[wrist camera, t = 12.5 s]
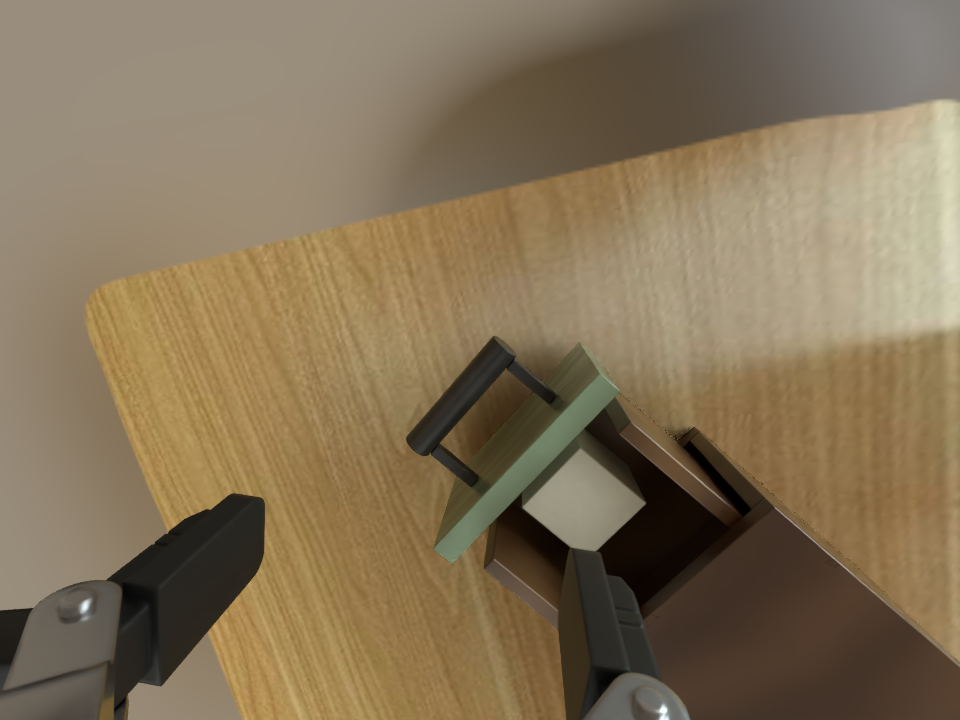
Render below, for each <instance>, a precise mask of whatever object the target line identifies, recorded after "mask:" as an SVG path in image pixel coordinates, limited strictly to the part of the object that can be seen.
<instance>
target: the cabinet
mask: <svg viewBox="0 0 960 720" xmlns="http://www.w3.org/2000/svg"><path fill="white" fill-rule="evenodd" d="M678 443H679V444H680V445H681V446H682V447H683V448H684V449H686V450H687V451H688V452H689V453H690V454H691V455H692V456H694V457H695V458H696V459H697V460H698V461H699V462H701V463H702V464H703V465H704V466H705V467H706V468H708V469H709V470H710V471H711V472H712V473H713V474H715V475H716V476H717V477H718V478H719V479H720V480H722V481H723V482H724V483H725V484H726V485H727V486H729V487H730V488H731V489H732V490H733V491H734V492H736V493H737V494H738V495H739V496H740V497H741V499H742V500H743V501H744V502H745V503H746V504H747V505H748V506H749V507H750V509H751V511H750V512H749V513H748V514H746V515H745V516H744V517H743V518H742V519H741V520H740V521H738V522H737V523H736V524H735V525H734V526H733V527H732V528H730V529H729V530H728V531H727V532H726V533H725V534H724V535H722V536H721V537H720V538H719V539H718V540H717V541H716V542H714V543H713V544H712V545H711V546H710V547H709V548H708V549H706V550H705V551H704V552H703V553H702V554H701V555H700V556H698V557H697V558H696V559H695V560H694V561H693V562H691V563H690V564H689V565H688V566H687V567H686V568H685V569H683V570H682V571H681V572H680V573H679V574H678V575H677V576H675V577H674V578H673V579H672V580H671V581H670V582H669V583H667V584H666V585H665V586H664V587H663V588H662V589H661V590H659V591H658V592H657V593H656V594H655V595H654V596H653V597H651V598H650V599H649V600H648V601H647V602H646V603H645V604H643V605H642V606H641V607H640V608H639V609H640V614H641V616H642V619H643V622H644V628H645V629H646V631H647V634H648V637H649V640H650V643H651V646H652V650H653V653H654V656H655V659H656V662H657V665H658V668H659V671H660V674H661V677H662V680H663V683H664V684H665V685H667V686H668V687H669V688H670V689H672V690H673V691H674V692H675V693H676V694H677V696H678V697H679V698H680V699H681V701H682V702H683V704H684V705H685V707H686V709H687V711H688V714H689V717H690V719H692V720H960V662H959V661H958V660H957V659H956V658H955V657H953V656H952V655H951V654H950V653H949V652H948V651H947V650H946V649H945V648H944V647H943V646H942V645H941V644H939V643H938V642H937V641H936V640H935V639H934V638H933V637H932V636H931V635H930V634H929V633H928V632H927V631H925V630H924V629H923V628H922V627H921V626H920V625H919V624H918V623H917V622H916V621H915V620H914V619H913V618H911V617H910V616H909V615H908V614H907V613H906V612H905V611H904V610H903V609H902V608H901V607H900V606H899V605H898V604H896V603H895V602H894V601H893V600H892V599H891V598H890V597H889V596H888V595H887V594H886V593H885V592H884V591H882V590H881V589H880V588H879V587H878V586H877V585H876V584H875V583H874V582H873V581H872V580H871V579H870V578H868V577H867V576H866V575H865V574H864V573H863V572H862V571H861V570H860V569H858V568H857V567H856V566H855V565H854V564H853V563H851V562H850V561H849V560H848V559H847V558H846V557H845V556H843V555H842V554H841V553H840V552H839V551H838V550H836V549H835V548H834V547H833V546H832V545H831V544H829V543H828V542H827V541H826V540H825V539H824V538H823V537H821V536H820V535H819V534H818V533H817V532H816V531H814V530H813V529H812V528H811V527H810V526H809V525H808V524H806V523H805V522H804V521H803V520H802V519H801V518H799V517H798V516H797V515H796V514H795V513H794V512H793V511H791V510H790V509H789V508H788V507H787V506H786V505H784V504H783V503H782V502H781V501H780V500H779V499H778V498H776V497H775V496H774V495H773V494H772V493H771V492H769V491H768V490H767V489H766V488H765V487H764V486H762V485H761V484H760V483H759V482H758V481H757V480H756V479H754V478H753V477H752V476H751V475H750V474H749V473H747V472H746V471H745V470H744V469H743V468H742V467H741V466H739V465H738V464H737V463H736V462H735V461H734V460H732V459H731V458H730V457H729V456H728V455H727V454H726V453H724V452H723V451H722V450H721V449H720V448H719V447H717V446H716V445H715V444H714V443H713V442H712V441H711V440H709V439H708V438H707V437H706V436H705V435H704V434H702V433H701V432H700V431H699V430H698V429H697V428H695V427H694V428H693V429H692V430H691V431H690V432H689V433H688V434H687V435H685V436H684V437H683V438H682V439H681V440H680V441H679V442H678Z"/></svg>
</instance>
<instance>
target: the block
mask: <svg viewBox="0 0 960 720" xmlns="http://www.w3.org/2000/svg"><path fill="white" fill-rule="evenodd" d="M645 504H646V501H645V499H644V497H643V495H642V493H641V491H640V489H639V487H638V485H637V483H636V481H635V479H634V477H633V475H632V473H631V471H630V469H629V467H628V465H627V464H625V463H624V462H623V461H622V460H621V459H620V458H618V457H617V456H616V455H615V454H614V453H612V452H611V451H610V450H609V449H608V448H606V447H605V446H604V445H603V444H602V443H601V442H599V441H598V440H597V439H596V438H595V437H593V436H592V435H591V434H590V433H589V432H588V431H586V430H585V429H583V430H582V431H581V432H580V433H579V434H578V435H577V436H576V437H575V438H574V439H573V440H572V441H571V442H570V443H569V444H568V445H567V446H566V447H565V448H564V449H563V450H562V451H561V452H560V454H559V455H558V456H557V457H556V458H555V459H554V460H553V461H552V462H551V463H550V464H549V465H548V466H547V467H546V468H545V469H544V470H543V471H542V472H541V473H540V474H539V475H538V476H537V477H536V478H535V479H534V480H533V481H532V482H531V483H530V484H529V485H528V486H527V487H526V488H525V489H524V490H523V491H522V508H523V509H524V510H525V511H527V512H528V513H529V514H530V515H531V516H533V517H534V518H535V519H536V520H538V521H539V522H540V523H541V524H542V525H544V526H545V527H546V528H547V529H549V530H550V531H551V532H552V533H553V534H555V535H556V536H557V537H558V538H559V539H561V540H562V541H563V542H564V543H566V544H567V545H568V546H569V547H570V548H577V549H583V550H589V551H597V550H598V549H599V548H600V547H601V546H602V545H603V544H604V543H605V542H606V541H607V540H608V539H609V538H610V537H612V536H613V535H614V534H615V533H616V532H617V531H618V530H619V529H620V528H621V527H622V526H623V525H624V524H625V523H626V522H627V521H628V520H630V519H631V518H632V517H633V516H634V515H635V514H636V513H637V512H638V511H639V510H640V509H641V508H642V507H643V506H644V505H645Z"/></svg>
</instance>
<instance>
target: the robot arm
mask: <svg viewBox="0 0 960 720" xmlns="http://www.w3.org/2000/svg"><path fill="white" fill-rule="evenodd" d="M264 529H265V503H264V500H263V499H262V498H260V497H254V496H248V495H242V494H235V493H232V494H230V495H229V496H227V497H226V498H225V499H224V500H222V501H221V502H220V503H219V504H217V505H216V506H215V507H214V508H212V509H211V510H208V509H206V510H204V511H201V512H199V513H197V514H195V515H192V516H190V517H188V518H186V519H184V520H183V521H181V522H180V523H179V524H178V525H176V526H175V527H174V528H172V529H171V530H170V531H169V533H168V534H165V535H163V536H162V537H161V538H160V539H158V540H157V541H156V542H155V544H154V545H151V546H149V547H148V548H147V549H145V550H144V551H143V552H142V553H140V554H139V555H138V556H137V557H135V558H134V559H133V560H131V561H130V562H129V563H127V564H126V565H125V566H124V567H122V568H121V569H120V570H118V571H117V572H116V573H115V574H113V575H112V576H111V577H109V578H108V579H107V580H93V581H86V582H81V583H77V584H73V585H70V586H67V587H65V588H62V589H60V590H58V591H56V592H54V593H52V594H50V595H49V596H47V597H46V598H44V599H43V600H42V601H40V602H39V603H38V604H37V605H36V606H35V607H34V608H28V609H14V610H2V611H0V720H127V719H128V707H129V701H128V693H129V692H130V691H131V690H132V689H133V688H134V687H135V686H136V684H137V683H138V682H140V683H146V684H150V685H156V686H162V685H163V684H164V683H165V682H166V680H167V679H168V678H169V677H170V676H171V674H172V673H173V672H174V671H175V670H176V668H177V667H178V666H179V665H180V664H181V663H182V661H183V660H184V659H185V658H186V657H187V655H188V654H189V653H190V652H191V651H192V650H193V648H194V647H195V646H196V645H197V644H198V642H199V641H200V640H201V639H202V637H203V636H204V635H205V634H206V633H207V632H208V631H209V629H210V628H211V627H212V626H213V625H214V623H215V622H216V621H217V620H218V619H219V617H220V616H221V615H222V614H223V613H224V612H225V610H226V609H227V608H228V607H229V606H230V604H231V603H232V602H233V601H234V600H235V598H236V597H237V596H238V595H239V594H240V593H241V591H242V590H243V589H244V588H245V587H246V585H247V584H248V583H249V582H250V581H251V579H252V578H253V577H254V576H255V574H256V573H257V571H258V569H259V567H260V565H261V562H262V559H263V554H264ZM558 631H559V642H560V654H561V665H562V676H563V687H564V698H565V709H566V720H692V719H690V717H689V714H688V711H687V709H686V707H685V705H684V704H683V702H682V701H681V699H680V698H679V697H678V696H677V694H676V693H675V692H674V691H673V690H672V689H670V688H669V687H668V686H667V685H665V684H664V683H663V680H662V677H661V674H660V671H659V668H658V665H657V662H656V659H655V656H654V653H653V650H652V646H651V643H650V640H649V637H648V634H647V631H646V629H645V628H644V622H643V619H642V616H641V614H640V609H639V606H638V603H637V600H636V597H635V594H634V592H633V591H632V590H631V589H630V588H629V586H628V585H627V584H626V583H625V581H624V580H623V579H622V578H621V577H617V576H611V575H606V571H605V567H604V563H603V559H602V556H601V553H600V552H596V551H589V550H583V549H577V548H570V549H569V552H568V557H567V562H566V568H565V573H564V579H563V585H562V590H561V596H560V602H559V611H558Z"/></svg>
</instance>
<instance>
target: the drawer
mask: <svg viewBox="0 0 960 720" xmlns="http://www.w3.org/2000/svg"><path fill="white" fill-rule="evenodd" d="M516 356H517V355H516V353H515V352H514V350H513V349H512V348H511V347H510V346H509V345H508V344H506V343H505V342H504V341H503V340H501V339H500V338H498V337H496V336H493V337H492V338H491V339H490V341H489V342H488V343H487V344H486V345H485V346H484V348H483V349H482V350H481V351H480V352H479V353H478V354H477V356H476V357H475V358H474V359H473V360H472V361H471V363H470V364H469V365H468V366H467V367H466V368H465V370H464V371H463V372H462V373H461V374H460V375H459V376H458V378H457V379H456V380H455V381H454V382H453V383H452V385H451V386H450V387H449V388H448V389H447V390H446V391H445V393H444V394H443V395H442V396H441V397H440V398H439V400H438V401H437V402H436V403H435V404H434V405H433V407H432V408H431V409H430V410H429V411H428V412H427V413H426V415H425V416H424V417H423V418H422V419H421V420H420V422H419V423H418V424H417V425H416V426H415V427H414V428H413V430H412V431H411V432H410V433H409V434H408V435H407V437H406V441H407V443H408V445H409V446H410V447H411V449H412V450H414V451H415V452H416V453H417V454H419V455H421V456H428V455H429V454H430V453H431V455H432V456H433V457H434V458H435V459H437V460H438V461H439V462H440V463H441V464H443V465H444V466H445V467H446V468H448V469H449V470H450V471H451V472H452V473H454V474H455V475H456V478H455V481H454V484H453V487H452V490H451V493H450V497H449V500H448V503H447V506H446V509H445V512H444V515H443V519H442V522H441V525H440V528H439V531H438V534H437V537H436V540H435V544H434V547H433V549H434V550H435V551H436V552H438V553H439V554H440V555H441V556H443V557H444V558H445V559H446V560H448V561H449V562H450V563H453V562H454V561H455V560H456V559H457V558H458V557H459V556H460V555H461V554H462V553H463V552H464V551H465V550H466V549H467V548H468V547H469V546H470V545H471V544H472V543H473V542H474V541H475V540H476V539H477V538H478V537H479V536H480V534H481V533H482V532H483V531H484V530H485V529H486V528H487V527H488V526H489V531H488V538H487V545H486V553H485V560H484V570H485V571H487V572H488V573H489V574H490V575H492V576H493V577H494V578H495V579H496V580H498V581H499V582H500V583H501V584H503V585H504V586H505V587H506V588H508V589H509V590H510V591H511V592H513V593H514V594H515V595H516V596H518V597H519V598H520V599H521V600H522V601H524V602H525V603H526V604H527V605H529V606H530V607H531V608H532V609H534V610H535V611H536V612H537V613H539V614H540V615H541V616H542V617H544V618H545V619H546V620H547V621H548V622H550V623H551V624H552V625H553V626H555V627H556V628H557V629H558V611H559V602H560V596H561V590H562V585H563V579H564V573H565V568H566V562H567V557H568V552H569V549H570V547H569V546H568V545H567V544H566V543H564V542H563V541H562V540H561V539H559V538H558V537H557V536H556V535H555V534H553V533H552V532H551V531H550V530H549V529H547V528H546V527H545V526H544V525H542V524H541V523H540V522H539V521H538V520H536V519H535V518H534V517H533V516H531V515H530V514H529V513H528V512H527V511H525V510H524V509H523V508H522V491H523V490H524V489H525V488H526V487H527V486H528V485H529V484H530V483H531V482H532V481H533V480H534V479H535V478H536V477H537V476H538V475H539V474H540V473H541V472H542V471H543V470H544V469H545V468H546V467H547V466H548V465H549V464H550V463H551V462H552V461H553V460H554V459H555V458H556V457H557V456H558V455H559V454H560V452H561V451H562V450H563V449H564V448H565V447H566V446H567V445H568V444H569V443H570V442H571V441H572V440H573V439H574V438H575V437H576V436H577V435H578V434H579V433H580V432H581V431H582V430H583V429H585V430H586V431H588V432H589V433H590V434H591V435H592V436H593V437H595V438H596V439H597V440H598V441H599V442H601V443H602V444H603V445H604V446H605V447H606V448H608V449H609V450H610V451H611V452H612V453H614V454H615V455H616V456H617V457H618V458H620V459H621V460H622V461H623V462H624V463H625V464H627V465H628V467H629V469H630V471H631V473H632V475H633V477H634V479H635V481H636V483H637V485H638V487H639V489H640V491H641V493H642V495H643V497H644V499H645V501H646V504H645V505H644V506H643V507H642V508H641V509H640V510H639V511H638V512H637V513H636V514H635V515H634V516H633V517H632V518H631V519H630V520H628V521H627V522H626V523H625V524H624V525H623V526H622V527H621V528H620V529H619V530H618V531H617V532H616V533H615V534H614V535H613V536H612V537H610V538H609V539H608V540H607V541H606V542H605V543H604V544H603V545H602V546H601V547H600V548H599V549H598V550H597V551H596V552H600V553H601V556H602V559H603V563H604V567H605V571H606V575H611V576H617V577H621V578H622V579H623V580H624V581H625V583H626V584H627V585H628V586H629V588H630V589H631V590H632V591H633V592H634V594H635V597H636V600H637V603H638V606H639V608H640V607H641V606H642V605H643V604H645V603H646V602H647V601H648V600H649V599H650V598H651V597H653V596H654V595H655V594H656V593H657V592H658V591H659V590H661V589H662V588H663V587H664V586H665V585H666V584H667V583H669V582H670V581H671V580H672V579H673V578H674V577H675V576H677V575H678V574H679V573H680V572H681V571H682V570H683V569H685V568H686V567H687V566H688V565H689V564H690V563H691V562H693V561H694V560H695V559H696V558H697V557H698V556H700V555H701V554H702V553H703V552H704V551H705V550H706V549H708V548H709V547H710V546H711V545H712V544H713V543H714V542H716V541H717V540H718V539H719V538H720V537H721V536H722V535H724V534H725V533H726V532H727V531H728V530H729V529H730V528H732V527H733V526H734V525H735V524H736V523H737V522H738V521H740V520H741V519H742V518H743V517H744V516H745V515H746V514H748V513H749V512H750V511H751V509H750V507H749V506H748V505H747V504H746V503H745V502H744V501H743V500H742V499H741V497H740V496H739V495H738V494H737V493H736V492H734V491H733V490H732V489H731V488H730V487H729V486H727V485H726V484H725V483H724V482H723V481H722V480H720V479H719V478H718V477H717V476H716V475H715V474H713V473H712V472H711V471H710V470H709V469H708V468H706V467H705V466H704V465H703V464H702V463H701V462H699V461H698V460H697V459H696V458H695V457H694V456H692V455H691V454H690V453H689V452H688V451H687V450H686V449H684V448H683V447H682V446H681V445H680V444H679V443H677V442H676V441H675V440H674V439H673V438H672V437H670V436H669V435H668V434H667V433H666V432H665V431H663V430H662V429H661V428H660V427H659V426H658V425H656V424H655V423H654V422H653V421H652V420H651V419H649V418H648V417H647V416H646V415H645V414H644V413H642V412H641V411H640V410H639V409H638V408H637V407H636V406H634V405H633V404H632V403H631V402H630V401H629V400H627V399H626V398H625V397H624V396H623V395H622V394H620V393H619V392H620V390H619V388H618V387H617V386H616V384H615V383H614V381H613V380H612V379H611V377H610V376H609V374H608V373H607V372H606V370H605V369H604V367H603V366H602V365H601V363H600V362H599V360H598V359H597V358H596V356H595V355H594V354H593V353H592V352H591V351H590V350H589V349H587V348H586V347H585V346H584V345H583V344H582V343H580V342H579V343H578V344H577V345H576V346H575V347H574V348H573V349H572V350H571V351H570V353H569V354H568V355H567V356H566V357H565V358H564V359H563V360H562V361H561V362H560V363H559V364H558V366H557V367H556V368H555V369H554V370H553V371H552V372H551V373H550V374H549V375H548V376H547V378H546V379H545V380H544V381H541V380H540V379H539V378H538V377H537V376H536V375H534V374H533V373H532V372H531V371H530V370H528V369H527V368H526V367H525V366H524V365H523V364H521V363H520V362H519V361H518V360H517V359H515V358H516ZM506 368H507V370H508V371H510V372H511V373H512V374H513V375H514V376H516V377H517V378H518V379H519V380H520V381H521V382H523V383H524V384H525V385H526V386H527V387H529V388H530V389H531V390H532V391H533V393H532V394H531V395H530V396H529V397H528V398H527V399H526V400H525V401H524V402H523V404H522V405H521V406H520V407H519V408H518V409H517V410H516V411H515V412H514V413H513V414H512V416H511V417H510V418H509V419H508V420H507V421H506V422H505V423H504V424H503V425H502V426H501V427H500V429H499V430H498V431H497V432H496V433H495V434H494V435H493V436H492V437H491V438H490V439H489V440H488V442H487V443H486V444H485V445H484V446H483V447H482V448H481V449H480V450H479V451H478V452H477V454H476V455H475V456H474V457H473V458H472V459H471V460H470V461H469V462H468V463H467V464H466V465H465V464H464V463H463V462H462V461H461V460H459V459H458V458H457V457H456V456H455V455H453V454H452V453H451V452H450V451H448V450H447V449H446V448H445V447H444V446H442V445H441V444H440V442H441V441H442V440H443V438H444V437H445V436H446V435H447V434H448V433H449V432H450V431H451V430H452V428H453V427H454V426H455V425H456V424H457V423H458V422H459V421H460V419H461V418H462V417H463V416H464V415H465V414H466V413H467V412H468V410H469V409H470V408H471V407H472V406H473V405H474V404H475V403H476V401H477V400H478V399H479V398H480V397H481V396H482V395H483V394H484V392H485V391H486V390H487V389H488V388H489V387H490V386H491V385H492V383H493V382H494V381H495V380H496V379H497V378H498V377H499V376H500V374H501V373H502V372H503V371H504V370H505V369H506Z"/></svg>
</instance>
